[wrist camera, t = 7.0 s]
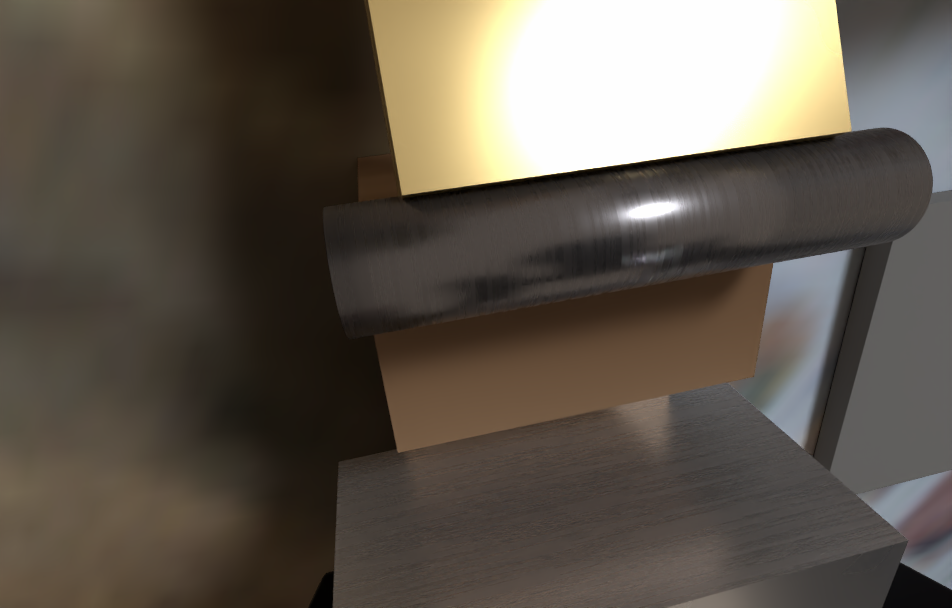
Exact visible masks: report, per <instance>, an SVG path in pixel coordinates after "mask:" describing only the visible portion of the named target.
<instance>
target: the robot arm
mask: <svg viewBox="0 0 952 608" xmlns="http://www.w3.org/2000/svg"><path fill="white" fill-rule="evenodd" d="M333 588H334V571H332V572H328V573H326V574H325V575H324V576H323V578H322V580H321V582H320V584H319V586H318V588H317V590H316V592H315V594H314V597H313V599H312V601H311V603H310V605H309V607H308V608H333ZM882 608H952V590H951V589H949V588H947V587H945V586H943V585H942V584H940V583H938V582H936V581H934V580H932V579H930V578H928V577H927V576H925V575H923V574H921V573H919V572H917V571H915V570H913V569H912V568H910V567H908V566H906V565H904V564H902V563H899V566H898V568H897V571H896V573H895V576H894V578H893V581H892V584H891V586H890V589H889V591H888V594H887V596H886V599H885V601H884V604H883V607H882Z"/></svg>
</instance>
